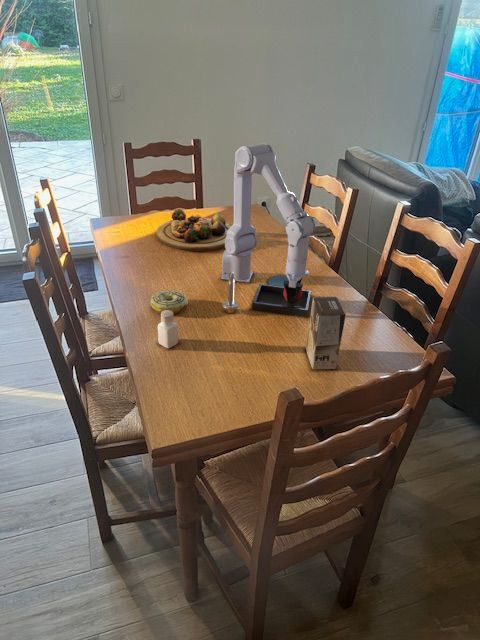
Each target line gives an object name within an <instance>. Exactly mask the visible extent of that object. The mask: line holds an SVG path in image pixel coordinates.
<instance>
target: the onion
mask: <svg viewBox="0 0 480 640" xmlns="http://www.w3.org/2000/svg"><path fill="white" fill-rule="evenodd" d="M302 290H303V287H302V288H301V290H300V291H299V293H298V295H297V298H296V301H295V302H297V301H299V300H300V299H301V297H302ZM283 295H284V297H285V299H286V300H287V294H286V290H285V288H284V292H283ZM291 304H292V303H291Z"/></svg>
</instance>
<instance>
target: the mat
mask: <svg viewBox="0 0 480 640" xmlns="http://www.w3.org/2000/svg"><path fill="white" fill-rule="evenodd" d="M284 280H285V281H289V280H288V278H287V276H286V275H276V276H275V275H274V276H272V277H270V278H269V279H268V282H267V283H268V284H267V285H272V286H280V287H284V285H283V283H284Z"/></svg>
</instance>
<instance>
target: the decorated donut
mask: <svg viewBox="0 0 480 640" xmlns="http://www.w3.org/2000/svg"><path fill="white" fill-rule="evenodd" d="M188 301H189V300H188V298H187V296H186V295H185V294H184V293H183V292H180V291H178V290H163V291H159V292H157V293H155V294H153V295H152V296H151V297H150V307H151V308H152V309H153V310H154V311H155V312H157V313H158V314H161V312H162V311H165V310H170V311H172V312H173V315H175V314H178V313H181V311H183V310H184V309H185V307H187V306H188V304H189V302H188Z"/></svg>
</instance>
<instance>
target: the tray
mask: <svg viewBox="0 0 480 640" xmlns="http://www.w3.org/2000/svg"><path fill="white" fill-rule="evenodd" d="M283 292H284V287H280V286H272V285H269V284H265V283H259V284H258V287H257V290H256V292H255V295H254V298H253V300H252V307H251V310H255V311H261V312H267V313H274V314H281V315H288V316H295V317H303V318H308V313H309V307H310V302H311V295H312V290H309V289H302V297H301V299H300V300H299V301H297V302H295V303H294V304H291V303H288V302H287V300H286V299H285V297H284V295H283Z"/></svg>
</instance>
